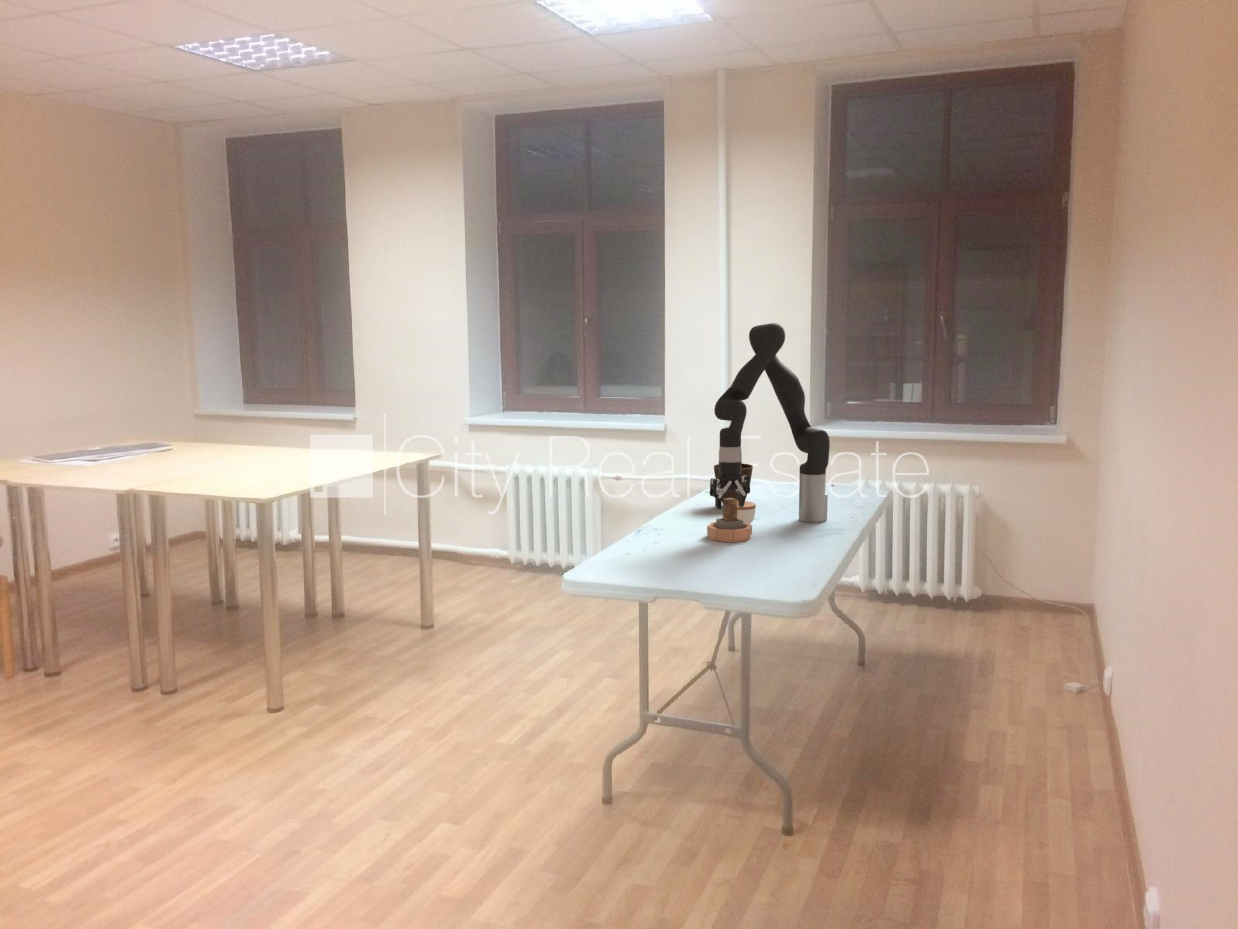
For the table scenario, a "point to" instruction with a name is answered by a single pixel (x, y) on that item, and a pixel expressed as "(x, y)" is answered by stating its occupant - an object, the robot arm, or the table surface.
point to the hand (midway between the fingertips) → (729, 507)
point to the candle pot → (729, 531)
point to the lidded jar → (746, 512)
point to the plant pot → (745, 471)
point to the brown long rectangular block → (729, 509)
